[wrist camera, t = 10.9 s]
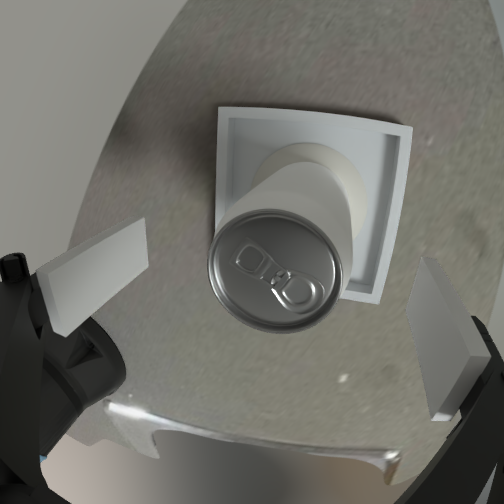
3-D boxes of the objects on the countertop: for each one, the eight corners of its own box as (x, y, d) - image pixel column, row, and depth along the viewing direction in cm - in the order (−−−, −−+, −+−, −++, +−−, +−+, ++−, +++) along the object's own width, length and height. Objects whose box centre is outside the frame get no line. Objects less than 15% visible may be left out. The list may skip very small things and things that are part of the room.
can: (315, 259, 25) (289, 363, 14) (248, 211, 25) (174, 284, 14) (366, 196, 22) (388, 268, 11) (295, 143, 21) (247, 162, 11)
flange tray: (223, 265, 28) (215, 276, 26) (228, 107, 22) (218, 106, 21) (376, 291, 25) (378, 304, 23) (406, 127, 19) (412, 127, 18)
